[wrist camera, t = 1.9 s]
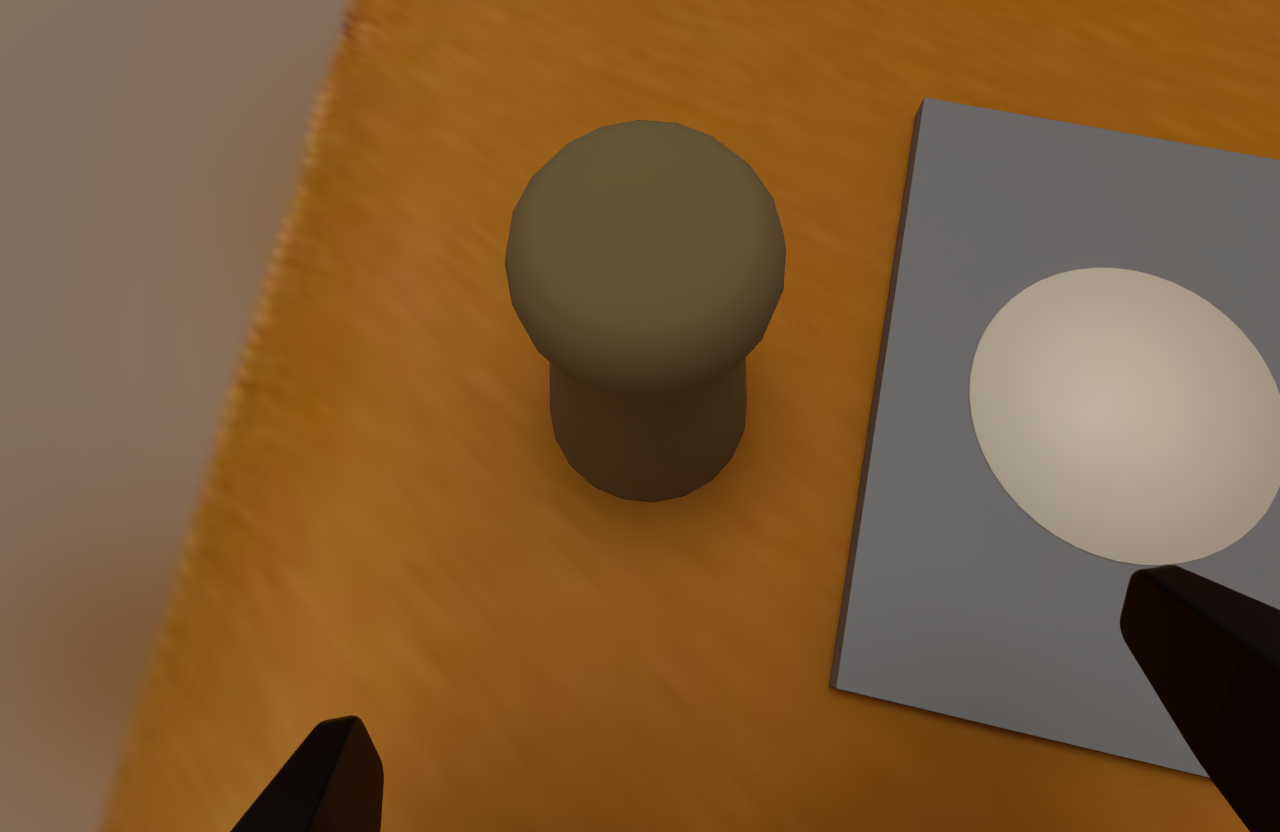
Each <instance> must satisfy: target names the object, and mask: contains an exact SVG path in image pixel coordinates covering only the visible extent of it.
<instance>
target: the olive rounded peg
mask: <svg viewBox="0 0 1280 832" xmlns="http://www.w3.org/2000/svg"><path fill="white" fill-rule="evenodd" d="M785 255H786V247H785V240H784V234H783V231H782V227H781V224H780V221H779V217H778V214H777V210H776V207H775V204H774V200H773V197H772V196H771V194H770V193H769V192H768V190H767V189H766V187H765V186H764V184H763V183H762V182H761V180H760V179H759V177H758V176H757V175H756V173H755V172H754V170H753V169H752V168H751V166H750V165H749V164H748V163H746V162H745V161H744V160H743V159H742V158H740V157H739V156H738V155H736V154H735V153H734V152H732V151H731V150H730V149H728V148H727V147H726V146H724V145H723V144H722V143H720V142H719V141H718V140H716V139H715V138H714V137H712V136H710V135H707V134H705V133H702V132H699V131H697V130H694V129H691V128H689V127H686V126H683V125H680V124H678V123H670V122H658V121H646V120H636V121H630V122H625V123H620V124H615V125H609V126H604V127H600V128H598V129H596V130H594V131H592V132H590V133H588V134H586V135H584V136H582V137H580V138H578V139H576V140H574V141H572V142H570V143H568V144H567V145H566V146H565V147H564V148H563V149H561V150H560V151H559V152H558V153H557V154H556V155H555V156H554V157H553V158H552V159H551V160H550V161H549V162H548V163H546V164H545V165H544V166H543V167H542V168H541V169H540V170H539V171H538V172H537V173H536V174H535V175H534V176H533V177H532V178H531V180H530V182H529V184H528V185H527V187H526V189H525V191H524V193H523V194H522V196H521V198H520V200H519V202H518V203H517V205H516V207H515V209H514V211H513V215H512V221H511V227H510V232H509V238H508V244H507V250H506V259H505V267H506V273H507V278H508V284H509V290H510V295H511V301H512V305H513V307H514V309H515V311H516V313H517V315H518V317H519V319H520V321H521V322H522V324H523V326H524V328H525V329H526V331H527V333H528V335H529V336H530V338H531V340H532V342H533V344H534V345H535V347H536V349H537V351H538V352H539V353H541V354H542V355H543V356H544V357H545V358H546V359H547V360H549V361H550V411H551V416H552V422H553V427H554V433H555V438H556V440H557V442H558V444H559V446H560V448H561V449H562V451H563V453H564V455H565V457H566V458H567V460H568V462H569V464H570V465H571V466H572V467H573V468H574V469H575V470H576V471H577V472H578V473H580V474H581V475H582V476H583V477H584V478H585V479H586V480H587V481H588V482H589V483H591V484H592V485H593V486H594V487H597V488H599V489H601V490H603V491H606V492H608V493H610V494H612V495H615V496H617V497H619V498H621V499H629V500H639V501H648V502H656V501H661V500H666V499H671V498H675V497H680V496H685V495H687V494H688V493H690V492H692V491H694V490H695V489H697V488H699V487H701V486H702V485H704V484H706V483H707V482H709V481H711V480H712V479H713V478H714V477H715V476H716V475H717V474H718V473H719V472H720V470H721V469H722V468H723V467H724V466H725V465H726V464H727V463H728V461H729V460H730V459H731V458H732V457H733V455H734V452H735V450H736V448H737V445H738V443H739V441H740V438H741V436H742V434H743V431H744V428H745V414H746V401H747V396H746V362H745V357H746V356H747V355H748V354H749V353H750V352H751V351H752V350H753V349H754V347H755V346H756V345H757V344H758V343H759V342H760V341H761V340H762V338H763V336H764V333H765V331H766V329H767V326H768V324H769V322H770V319H771V317H772V315H773V313H774V310H775V308H776V306H777V303H778V301H779V299H780V296H781V294H782V292H783V287H784V271H785Z"/></svg>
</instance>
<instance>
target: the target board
mask: <svg viewBox="0 0 1280 832" xmlns="http://www.w3.org/2000/svg"><path fill="white" fill-rule="evenodd" d="M1164 564H1172V565H1176V566H1179V567H1182V568H1184V569H1186V570H1189V571H1191V572H1193V573H1196V574H1198V575H1200V576H1203V577H1205V578H1207V579H1210V580H1212V581H1214V582H1217V583H1219V584H1221V585H1223V586H1226V587H1228V588H1230V589H1233V590H1235V591H1237V592H1240V593H1242V594H1244V595H1247V596H1249V597H1251V598H1254V599H1256V600H1258V601H1261V602H1263V603H1265V604H1268V605H1270V606H1272V607H1274V608H1277V609H1279V610H1280V160H1275V159H1270V158H1264V157H1258V156H1253V155H1247V154H1241V153H1236V152H1230V151H1225V150H1219V149H1213V148H1208V147H1202V146H1196V145H1191V144H1185V143H1179V142H1174V141H1168V140H1162V139H1157V138H1151V137H1145V136H1140V135H1134V134H1128V133H1123V132H1117V131H1111V130H1106V129H1100V128H1094V127H1089V126H1083V125H1077V124H1072V123H1066V122H1061V121H1055V120H1049V119H1044V118H1038V117H1032V116H1027V115H1021V114H1015V113H1010V112H1004V111H998V110H993V109H987V108H981V107H976V106H970V105H964V104H959V103H953V102H947V101H942V100H936V99H930V98H925V97H924V99H923V101H922V103H921V105H920V107H919V109H918V111H917V113H916V118H915V125H914V132H913V138H912V145H911V151H910V158H909V165H908V171H907V178H906V184H905V191H904V198H903V204H902V211H901V217H900V224H899V231H898V237H897V244H896V250H895V257H894V263H893V270H892V277H891V283H890V290H889V296H888V303H887V310H886V316H885V323H884V329H883V336H882V343H881V349H880V356H879V362H878V369H877V375H876V382H875V389H874V395H873V402H872V408H871V415H870V422H869V428H868V435H867V441H866V448H865V455H864V461H863V468H862V474H861V481H860V488H859V494H858V501H857V507H856V514H855V520H854V527H853V534H852V540H851V547H850V553H849V560H848V567H847V573H846V580H845V586H844V593H843V600H842V606H841V613H840V619H839V626H838V632H837V639H836V646H835V652H834V659H833V665H832V672H831V679H830V685H829V686H831V687H834V688H838V689H842V690H846V691H850V692H854V693H858V694H863V695H867V696H871V697H875V698H879V699H883V700H888V701H892V702H896V703H900V704H904V705H909V706H913V707H917V708H921V709H925V710H929V711H934V712H938V713H942V714H946V715H950V716H954V717H959V718H963V719H967V720H971V721H975V722H979V723H984V724H988V725H992V726H996V727H1000V728H1005V729H1009V730H1013V731H1017V732H1021V733H1025V734H1030V735H1034V736H1038V737H1042V738H1046V739H1050V740H1055V741H1059V742H1063V743H1067V744H1071V745H1076V746H1080V747H1084V748H1088V749H1092V750H1096V751H1101V752H1105V753H1109V754H1113V755H1117V756H1121V757H1126V758H1130V759H1134V760H1138V761H1142V762H1147V763H1151V764H1155V765H1159V766H1163V767H1167V768H1172V769H1176V770H1180V771H1184V772H1188V773H1192V774H1197V775H1201V776H1205V777H1209V776H1208V774H1207V773H1206V771H1205V770H1204V769H1203V767H1202V766H1201V764H1200V763H1199V761H1198V760H1197V758H1196V757H1195V755H1194V754H1193V752H1192V751H1191V749H1190V748H1189V746H1188V744H1187V743H1186V741H1185V740H1184V738H1183V736H1182V735H1181V733H1180V731H1179V730H1178V728H1177V727H1176V725H1175V723H1174V722H1173V720H1172V718H1171V717H1170V715H1169V713H1168V712H1167V710H1166V708H1165V707H1164V705H1163V704H1162V702H1161V700H1160V699H1159V697H1158V695H1157V694H1156V692H1155V690H1154V689H1153V687H1152V686H1151V684H1150V682H1149V681H1148V679H1147V677H1146V676H1145V674H1144V672H1143V671H1142V669H1141V667H1140V666H1139V664H1138V663H1137V661H1136V659H1135V658H1134V656H1133V654H1132V653H1131V651H1130V649H1129V648H1128V646H1127V645H1126V643H1125V641H1124V639H1123V636H1122V634H1121V630H1120V615H1121V611H1122V607H1123V603H1124V599H1125V595H1126V591H1127V587H1128V583H1129V579H1130V577H1131V575H1132V574H1133V573H1134V572H1135V571H1136V570H1138V569H1142V568H1147V567H1152V566H1158V565H1164ZM1209 778H1210V777H1209Z"/></svg>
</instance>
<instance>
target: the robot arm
mask: <svg viewBox="0 0 1280 832" xmlns="http://www.w3.org/2000/svg"><path fill="white" fill-rule="evenodd" d="M1120 630H1121V634H1122V636H1123V639H1124V641H1125V643H1126V645H1127V646H1128V648H1129V649H1130V651H1131V653H1132V654H1133V656H1134V658H1135V659H1136V661H1137V663H1138V664H1139V666H1140V667H1141V669H1142V671H1143V672H1144V674H1145V676H1146V677H1147V679H1148V681H1149V682H1150V684H1151V686H1152V687H1153V689H1154V690H1155V692H1156V694H1157V695H1158V697H1159V699H1160V700H1161V702H1162V704H1163V705H1164V707H1165V708H1166V710H1167V712H1168V713H1169V715H1170V717H1171V718H1172V720H1173V722H1174V723H1175V725H1176V727H1177V728H1178V730H1179V731H1180V733H1181V735H1182V736H1183V738H1184V740H1185V741H1186V743H1187V744H1188V746H1189V748H1190V749H1191V751H1192V752H1193V754H1194V755H1195V757H1196V758H1197V760H1198V761H1199V763H1200V764H1201V766H1202V767H1203V769H1204V770H1205V771H1206V773H1207V774H1208V776H1209V777H1210V778H1211V780H1212V781H1213V783H1214V784H1215V785H1216V787H1217V788H1218V789H1219V791H1220V792H1221V793H1222V795H1223V796H1224V797H1225V799H1226V800H1227V802H1228V803H1229V804H1230V806H1231V807H1232V808H1233V810H1234V811H1235V812H1236V814H1237V815H1238V816H1239V818H1240V819H1241V820H1242V822H1243V823H1244V824H1245V826H1246V827H1247V828H1248V830H1249V831H1250V832H1280V610H1279V609H1277V608H1274V607H1272V606H1270V605H1268V604H1265V603H1263V602H1261V601H1258V600H1256V599H1254V598H1251V597H1249V596H1247V595H1244V594H1242V593H1240V592H1237V591H1235V590H1233V589H1230V588H1228V587H1226V586H1223V585H1221V584H1219V583H1217V582H1214V581H1212V580H1210V579H1207V578H1205V577H1203V576H1200V575H1198V574H1196V573H1193V572H1191V571H1189V570H1186V569H1184V568H1182V567H1179V566H1176V565H1172V564H1164V565H1158V566H1152V567H1147V568H1142V569H1138V570H1136V571H1135V572H1134V573H1133V574H1132V575H1131V577H1130V579H1129V583H1128V587H1127V591H1126V595H1125V599H1124V603H1123V607H1122V611H1121V615H1120ZM383 785H384V773H383V766H382V762H381V759H380V757H379V755H378V752H377V750H376V748H375V746H374V744H373V742H372V740H371V738H370V736H369V734H368V732H367V730H366V727H365V725H364V723H363V722H362V720H361V719H360V718H359V717H357V716H353V715H350V716H345V717H340V718H334V719H329V720H325V721H322V722H320V723H319V724H318V725H317V726H316V727H315V728H314V729H313V730H312V731H311V732H310V734H309V735H308V736H307V737H306V739H305V740H304V741H303V742H302V743H301V745H300V746H299V747H298V748H297V750H296V751H295V752H294V753H293V755H292V756H291V757H290V758H289V760H288V761H287V762H286V763H285V764H284V766H283V767H282V768H281V769H280V771H279V772H278V773H277V774H276V776H275V777H274V778H273V779H272V781H271V782H270V783H269V784H268V785H267V787H266V788H265V789H264V790H263V792H262V793H261V794H260V795H259V797H258V798H257V799H256V800H255V802H254V803H253V804H252V805H251V806H250V808H249V809H248V810H247V811H246V813H245V814H244V815H243V816H242V818H241V819H240V820H239V821H238V822H237V824H236V825H235V826H234V827H233V829H232V830H231V831H230V832H380V829H381V814H382V800H383Z"/></svg>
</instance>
